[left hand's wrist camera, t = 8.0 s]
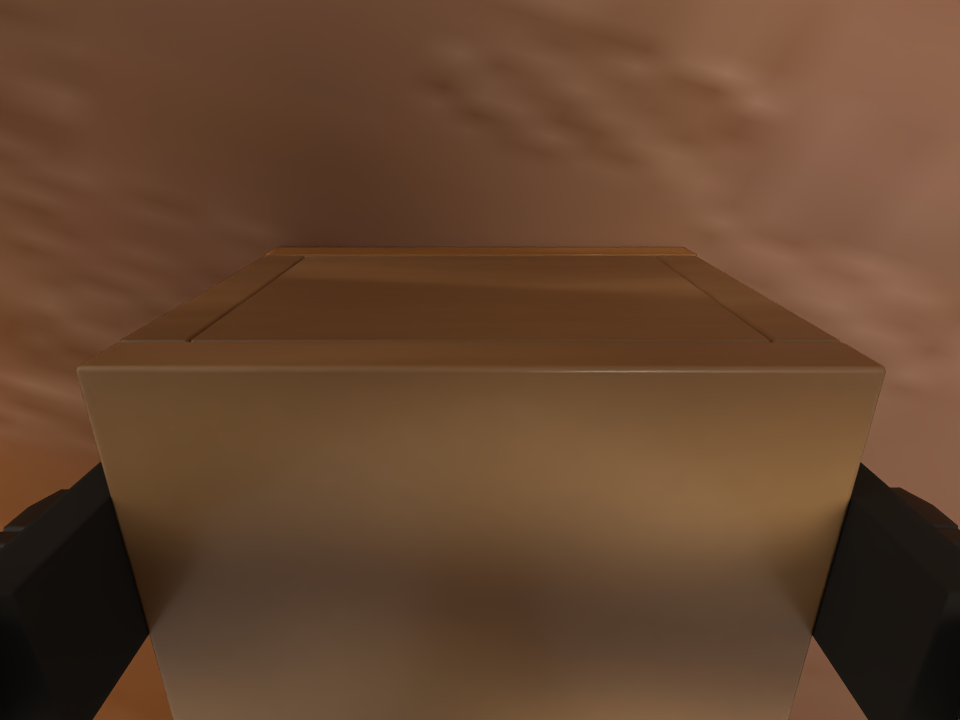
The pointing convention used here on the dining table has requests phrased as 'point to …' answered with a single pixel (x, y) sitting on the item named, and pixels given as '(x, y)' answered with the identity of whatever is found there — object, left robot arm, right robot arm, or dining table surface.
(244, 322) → the brown wooden block
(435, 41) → the dining table surface
